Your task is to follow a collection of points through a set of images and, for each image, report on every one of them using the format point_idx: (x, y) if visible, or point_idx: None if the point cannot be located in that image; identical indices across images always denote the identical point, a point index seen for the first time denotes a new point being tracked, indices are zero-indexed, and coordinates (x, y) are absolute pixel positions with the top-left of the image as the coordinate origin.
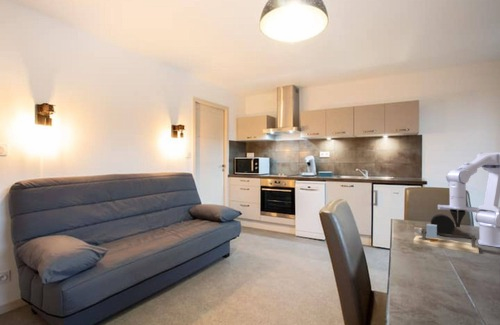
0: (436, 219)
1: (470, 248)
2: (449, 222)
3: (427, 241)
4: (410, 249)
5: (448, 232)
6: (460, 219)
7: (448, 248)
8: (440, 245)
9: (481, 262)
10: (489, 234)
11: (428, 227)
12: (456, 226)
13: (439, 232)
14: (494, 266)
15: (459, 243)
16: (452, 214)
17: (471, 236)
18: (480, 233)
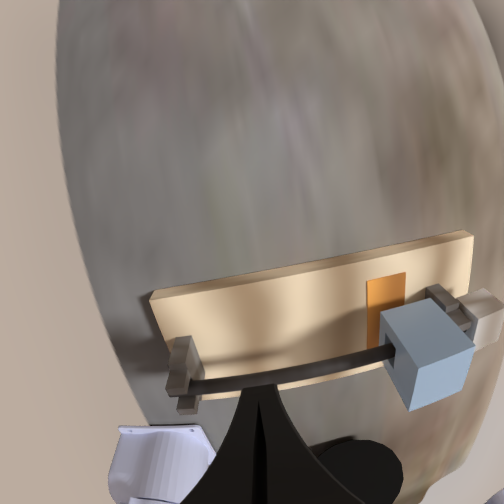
0: (385, 493)
1: (189, 302)
2: None
3: (416, 267)
4: (453, 89)
5: (325, 459)
6: (227, 458)
7: (301, 264)
8: (346, 260)
9: (108, 123)
10: (158, 469)
11: (457, 340)
12: (270, 386)
13: (358, 445)
14: (60, 112)
15: (260, 360)
16: (338, 495)
17: (196, 404)
18: (196, 475)
